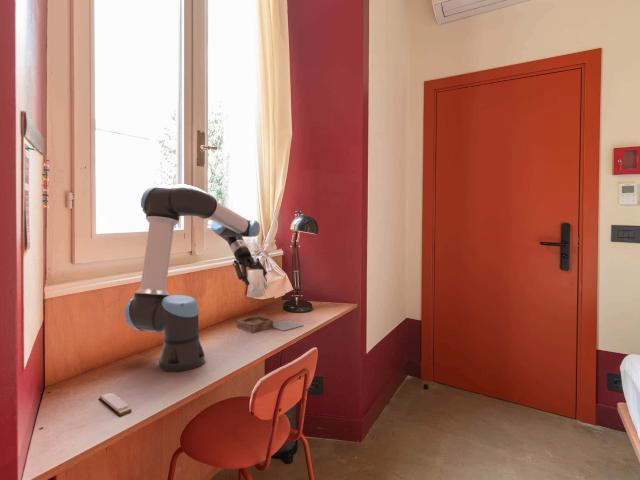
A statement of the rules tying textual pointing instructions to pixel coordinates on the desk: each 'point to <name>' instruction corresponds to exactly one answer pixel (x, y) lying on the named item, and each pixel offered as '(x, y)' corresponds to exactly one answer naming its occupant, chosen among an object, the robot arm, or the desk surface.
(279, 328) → the mat
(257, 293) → the white rounded piece
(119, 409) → the harmonica
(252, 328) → the holder
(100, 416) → the desk surface
